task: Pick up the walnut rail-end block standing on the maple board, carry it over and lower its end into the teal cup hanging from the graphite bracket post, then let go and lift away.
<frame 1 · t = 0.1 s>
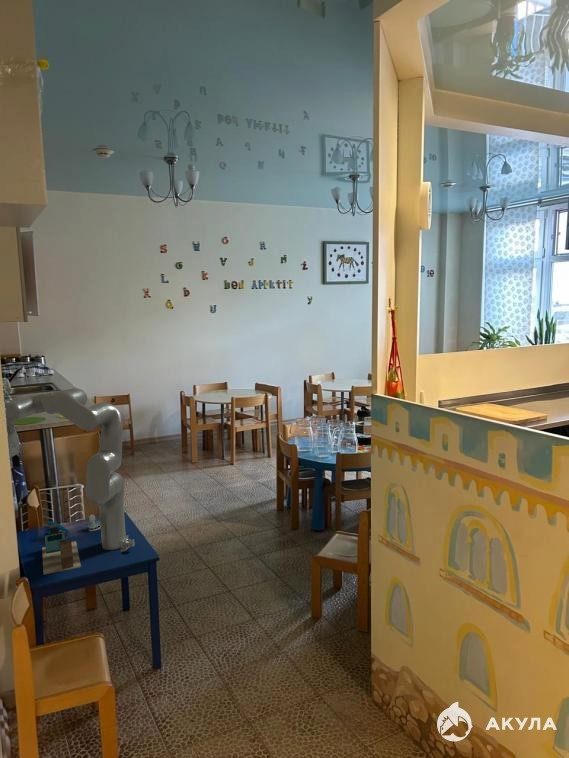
hand: (8, 470, 234), 31 cm above the table, tool pointing down, fingers open, 9 cm apart
rail end: (67, 565, 214), point 1 cm above the table, touching base board
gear: (59, 535, 245), on the table
base board: (57, 561, 221), on the table
cup bracket: (55, 542, 223), on the base board, point 6 cm above the table
pacifier: (94, 529, 250), on the table
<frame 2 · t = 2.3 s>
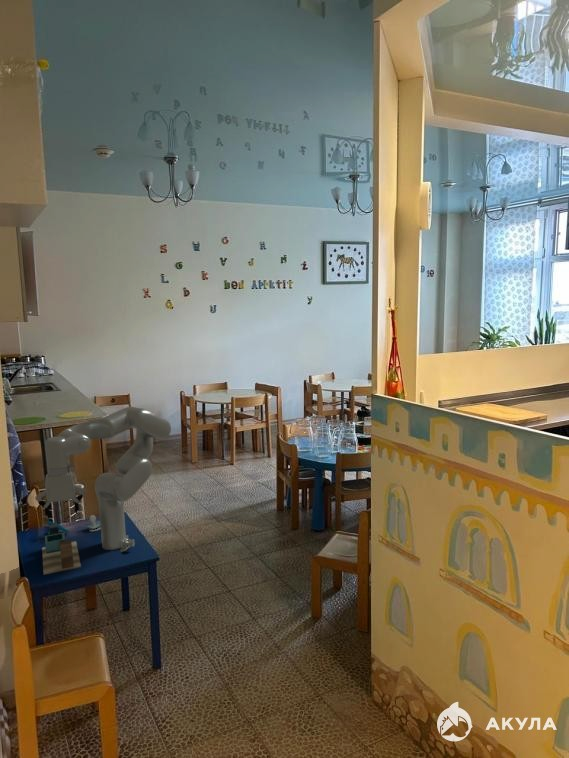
hand: (62, 514, 211), 22 cm above the table, tool pointing down, fingers open, 9 cm apart
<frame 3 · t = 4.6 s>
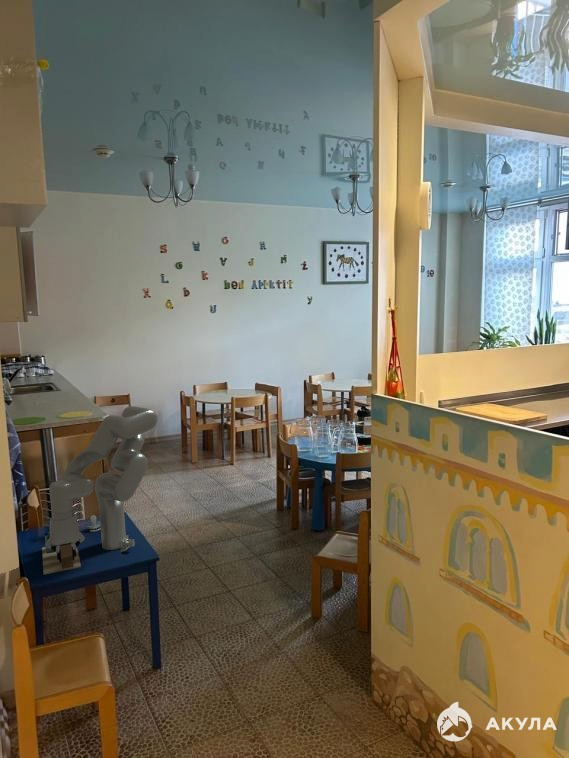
hand: (66, 559, 214), 4 cm above the table, tool pointing down, fingers closed on rail end, 4 cm apart
rail end: (67, 565, 214), point 2 cm above the table, touching base board, gripper
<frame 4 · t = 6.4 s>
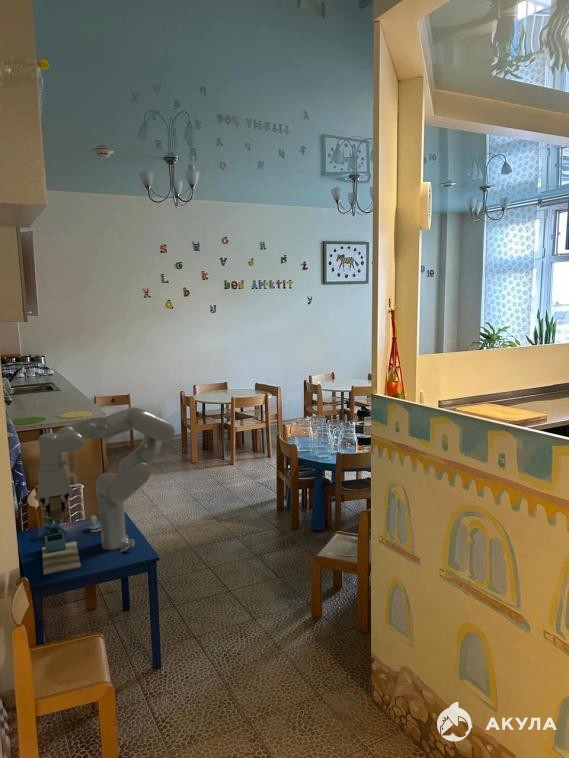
hand: (55, 512, 215), 21 cm above the table, tool pointing down, fingers closed on rail end, 4 cm apart
rail end: (56, 518, 215), point 19 cm above the table, touching gripper
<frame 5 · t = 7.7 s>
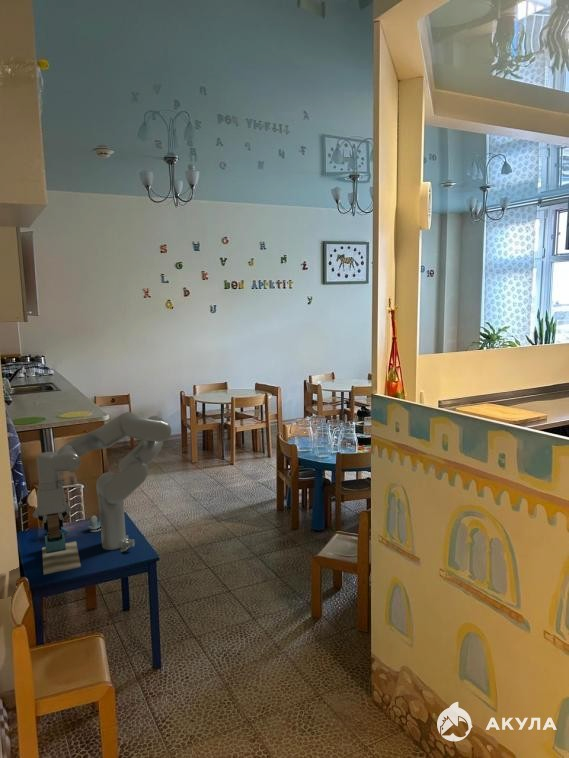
hand: (53, 529, 219), 13 cm above the table, tool pointing down, fingers closed on rail end, 4 cm apart
rail end: (54, 535, 219), point 11 cm above the table, touching gripper
when the fingers open (11 cm above the table, at t = 8.5 s): rail end drops 2 cm, resting on cup bracket.
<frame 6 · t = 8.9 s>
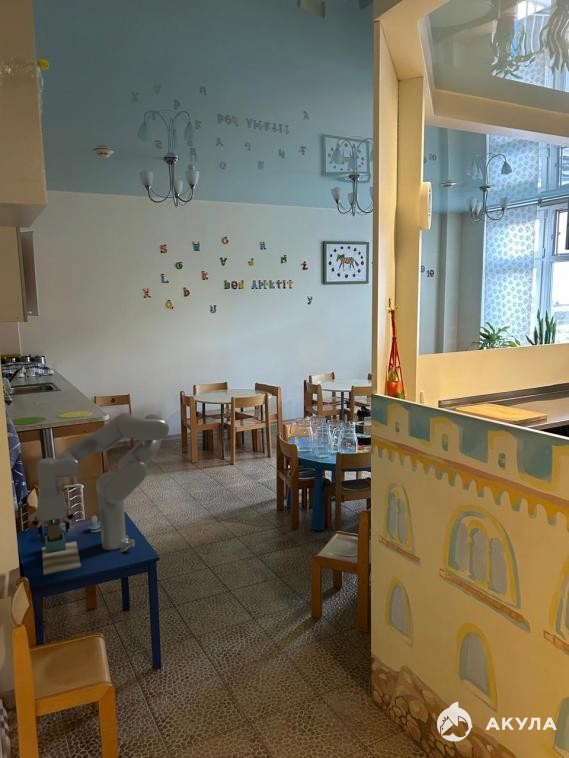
hand: (54, 533, 219), 12 cm above the table, tool pointing down, fingers open, 8 cm apart
rail end: (55, 546, 220), point 6 cm above the table, touching cup bracket
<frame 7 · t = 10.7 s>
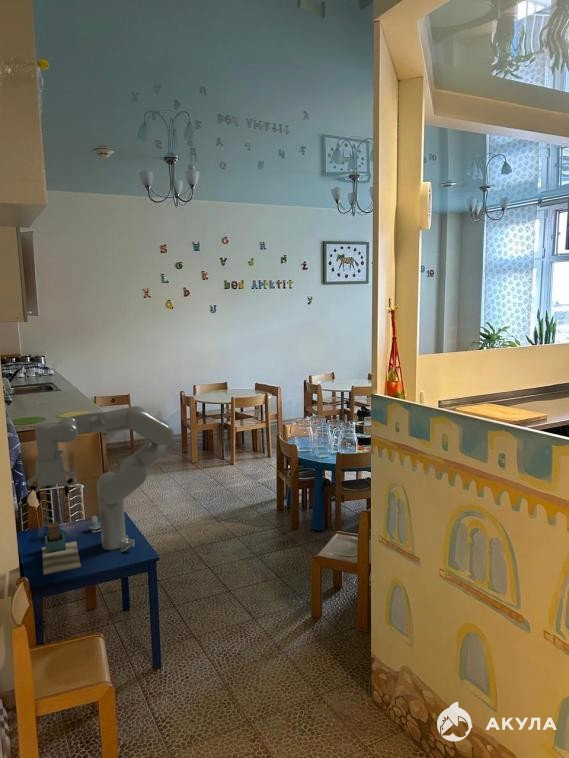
hand: (53, 498, 219), 25 cm above the table, tool pointing down, fingers open, 9 cm apart
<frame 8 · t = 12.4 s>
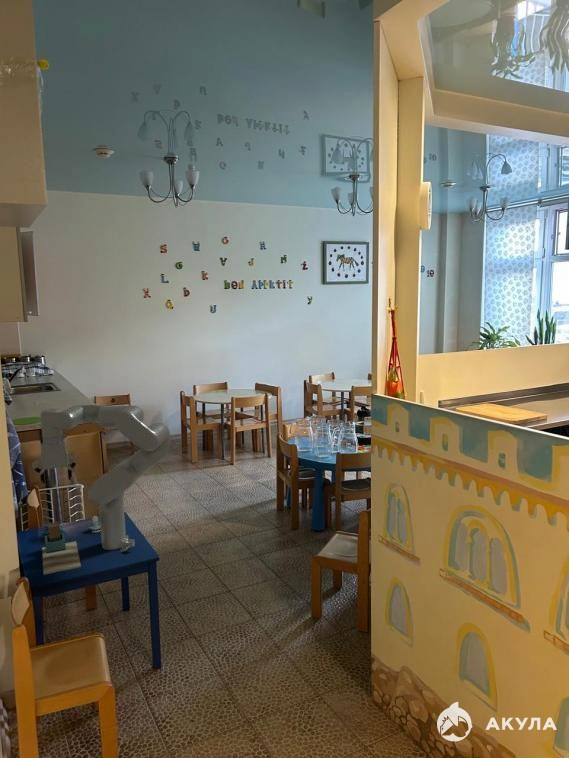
hand: (56, 480, 229), 28 cm above the table, tool pointing down, fingers open, 9 cm apart
at the end: rail end 0.1 cm off-centre on the cup bracket, point 6.3 cm above the cup bracket's base; rail end tilted 0°; the gripper is holding nothing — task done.
